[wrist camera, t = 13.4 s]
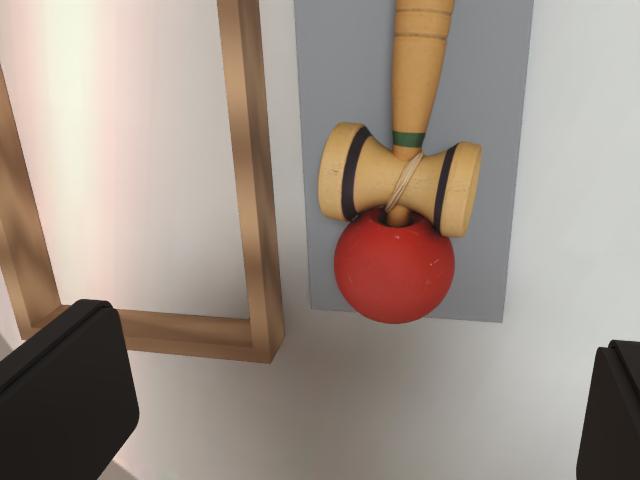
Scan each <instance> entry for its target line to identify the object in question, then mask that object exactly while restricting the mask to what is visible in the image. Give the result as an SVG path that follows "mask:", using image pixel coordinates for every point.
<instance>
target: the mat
mask: <svg viewBox="0 0 640 480" xmlns="http://www.w3.org/2000/svg"><path fill="white" fill-rule="evenodd" d="M533 3H534V0H455V4H454V9H453V13H452V15H451V25H450V30H449V35H448V37H447V38H446V41H447V46H446V51H445V56H444V61H443V66H442V71H441V75H440V80H439V85H438V89H437V93H436V97H435V101H434V104H433V109H432V112H431V116H430V119H429V123H428V127H427V130H426V134H425V138H424V140H423V144H422V151H423V153H424V154H426V156H430V155H435V154H438V153H441V152H443V151H445V150H447V149H449V148H451V147H453V146H454V145H456V144H457V143H459V142H462V141H466V142H470V143H475V144H479V145H481V147H482V159H481V166H480V173H479V176H478V177H479V178H478V185H477V190H476V195H475V200H474V205H473V209H472V214H471V217H470V221H469V225H468V228H467V232H466V234H465V235H464V236H463V237H462V238H455V237H449V239H450V241H451V243H452V246H453V251H454V257H455V271H454V277H453V281H452V283H451V286H450V289H449V290H448V293H447V294H446V296H445V298H444V299H443V300H442V302H441V303H440V304H439V306H437V307H436V308H435V309H434V310H432V312H430V313H429V314H427V315H425V316H424V317H429V318H443V319H456V320H470V321H483V322H497V323H502V320H503V310H504V300H505V290H506V279H507V269H508V259H509V249H510V239H511V228H512V218H513V208H514V198H515V187H516V177H517V167H518V157H519V146H520V136H521V126H522V116H523V105H524V95H525V85H526V75H527V64H528V54H529V44H530V34H531V24H532V13H533ZM395 5H396V0H294V8H295V26H296V44H297V62H298V80H299V99H300V117H301V135H302V153H303V171H304V190H305V208H306V226H307V244H308V262H309V280H310V299H311V309H321V310H334V311H348V312H357V311H356V310H355V309H354V308H353V307H352V306H351V305H350V304H349V303H348V302H347V301H346V300H345V298H344V297H343V295H342V293H341V292H340V290H339V287H338V285H337V282H336V279H335V273H334V253H335V249H336V245H337V242H338V240H339V238H340V236H341V234H342V232H343V231H344V229H345V228H346V227H347V225H348V224H349V223H350V222H349V221H347V222H345V221H340V220H336V219H331V218H327V217H325V216H324V215H323V213H322V211H321V209H320V205H319V201H318V176H319V168H320V163H321V158H322V154H323V150H324V147H325V144H326V141H327V139H328V137H329V135H330V133H331V131H332V130H333V128H334V127H335V126H336V125H337V124H338V123H340V122H349V123H361V124H364V125H366V126H367V128H368V130H369V131H370V133H371V134H372V135H373V136H374V137H375V138H376V140H378V141H379V142H380V143H381V144H382V145H384V146H385V147H387V148H388V149H390V150H392V151H393V135H392V57H393V41H394V37H395V36H396V35H395V34H394V23H395V14H396V10H395Z"/></svg>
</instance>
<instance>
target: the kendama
mask: <svg viewBox="0 0 640 480" xmlns="http://www.w3.org/2000/svg"><path fill="white" fill-rule="evenodd" d="M454 4H455V0H396V5H395V10H396V14H395V23H394V34H395V35H396V36H395V37H394V41H393V57H392V135H393V151H392V150H390V149H388V148H387V147H385V146H384V145H382V144H381V143H380V142H379V141H378V140H376V138H375V137H374V136H373V135H372V134H371V133H370V131H369V130H368V128H367V126H366V125H364V124H361V123H349V122H340V123H338V124H337V125H336V126H335V127H334V128H333V130H332V131H331V133H330V135H329V137H328V139H327V141H326V144H325V147H324V150H323V154H322V158H321V163H320V168H319V176H318V201H319V205H320V209H321V211H322V213H323V215H324V216H325V217H327V218H331V219H336V220H340V221H345V222H347V221H349V222H350V223H349V224H348V225H347V227H346V228H345V229H344V231H343V232H342V234H341V236H340V238H339V240H338V242H337V245H336V249H335V253H334V273H335V279H336V282H337V285H338V287H339V290H340V292H341V293H342V295H343V297H344V298H345V300H346V301H347V302H348V303H349V304H350V305H351V306H352V307H353V308H354V309H355V310H356V311H357V312H359V313H360V314H362V315H363V316H365V317H367V318H369V319H372V320H374V321H378V322H382V323H388V324H400V323H407V322H411V321H415V320H417V319H420V318H422V317H424V316H425V315H427V314H429V313H430V312H432V310H434V309H435V308H436V307H437V306H439V304H440V303H441V302H442V300H443V299H444V298H445V296H446V294H447V293H448V290H449V289H450V286H451V283H452V281H453V277H454V271H455V257H454V251H453V246H452V243H451V241H450V239H449V237H455V238H462V237H463V236H464V235H465V234H466V232H467V228H468V225H469V221H470V217H471V214H472V209H473V205H474V200H475V195H476V190H477V185H478V178H479V177H478V176H479V173H480V166H481V159H482V147H481V145H479V144H475V143H470V142H466V141H462V142H459V143H457V144H456V145H454V146H453V147H451V148H449V149H447V150H445V151H443V152H441V153H438V154H435V155H430V156H426V154H424V153H423V151H422V144H423V140H424V138H425V134H426V130H427V127H428V123H429V119H430V116H431V112H432V109H433V104H434V101H435V97H436V93H437V89H438V85H439V80H440V75H441V71H442V66H443V61H444V56H445V51H446V46H447V41H446V38H447V37H448V35H449V30H450V25H451V15H452V13H453V9H454Z"/></svg>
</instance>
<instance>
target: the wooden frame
mask: <svg viewBox="0 0 640 480" xmlns="http://www.w3.org/2000/svg"><path fill="white" fill-rule="evenodd" d="M217 7H218V17H219V26H220V36H221V46H222V55H223V65H224V74H225V84H226V94H227V103H228V113H229V122H230V132H231V141H232V151H233V161H234V170H235V180H236V189H237V199H238V209H239V218H240V228H241V237H242V247H243V257H244V266H245V276H246V285H247V295H248V305H249V314H250V320H245V319H232V318H220V317H207V316H195V315H182V314H170V313H157V312H145V311H132V310H120V309H116V310H117V311H118V312H119V315H120V320H121V325H122V329H123V334H124V339H125V344H126V349H127V350H134V351H144V352H155V353H165V354H175V355H186V356H196V357H206V358H216V359H227V360H237V361H247V362H258V363H268V364H271V362H272V360H273V358H274V356H275V354H276V352H277V350H278V348H279V346H280V344H281V342H282V340H283V338H284V336H285V335H284V323H283V310H282V297H281V284H280V271H279V258H278V245H277V233H276V220H275V207H274V194H273V181H272V168H271V155H270V143H269V130H268V117H267V104H266V91H265V78H264V65H263V52H262V40H261V27H260V14H259V1H258V0H217ZM0 267H1V270H2V274H3V277H4V280H5V284H6V287H7V291H8V294H9V298H10V301H11V304H12V308H13V311H14V315H15V318H16V322H17V325H18V328H19V332H20V335H21V339H22V340H28V339H29V338H31V337H32V336H33V335H35V334H36V333H37V332H38V331H40V330H41V329H42V328H43V327H45V326H46V325H47V324H49V323H50V322H51V321H52V320H54V319H55V318H56V317H57V316H59V315H60V314H61V313H62V312H64V311H65V310H66V309H68V308H69V307H70V305H61V303H60V300H59V296H58V292H57V288H56V284H55V280H54V276H53V272H52V268H51V264H50V260H49V256H48V252H47V248H46V244H45V240H44V236H43V232H42V228H41V224H40V220H39V216H38V212H37V208H36V205H35V201H34V197H33V193H32V189H31V185H30V181H29V177H28V173H27V169H26V165H25V161H24V157H23V153H22V149H21V145H20V141H19V137H18V133H17V129H16V125H15V121H14V117H13V113H12V110H11V106H10V102H9V98H8V94H7V90H6V86H5V82H4V78H3V74H2V70H1V66H0Z"/></svg>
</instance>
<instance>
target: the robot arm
mask: <svg viewBox="0 0 640 480" xmlns="http://www.w3.org/2000/svg"><path fill="white" fill-rule="evenodd" d="M138 420H139V406H138V402H137V397H136V392H135V387H134V382H133V377H132V373H131V368H130V363H129V358H128V353H127V349H126V344H125V339H124V334H123V329H122V325H121V320H120V315H119V312H118V311H117V310H116V309H115V308H113V306H112V305H111V304H110V302H108V301H102V300H89V299H80V300H78V301H76V302H75V303H74V304H73V305H71V306H70V307H69V308H68V309H66V310H65V311H64V312H62V313H61V314H60V315H59V316H57V317H56V318H55V319H54V320H52V321H51V322H50V323H49V324H47V325H46V326H45V327H43V328H42V329H41V330H40V331H38V332H37V333H36V334H35V335H33V336H32V337H31V338H29V339H28V340H27V341H26V342H24V343H23V344H22V345H21V346H19V347H18V348H17V349H16V350H14V351H13V352H12V353H11V354H9V355H8V356H7V357H6V358H4V359H3V360H2V361H0V480H97V479H98V477H99V476H100V475H101V474H102V472H103V471H104V470H105V468H106V467H107V466H108V464H109V463H110V461H111V460H112V459H113V458H114V456H115V455H116V454H117V452H118V451H119V450H120V448H121V447H122V446H123V444H124V443H125V442H126V440H127V439H128V438H129V436H130V435H131V434H132V432H133V431H134V430H135V428H136V426H137V424H138ZM576 478H577V480H640V342H635V341H622V340H612V341H610V343H609V345H608V348H605V347H599V348H598V349H597V352H596V356H595V362H594V368H593V374H592V379H591V385H590V391H589V397H588V402H587V408H586V414H585V420H584V425H583V431H582V437H581V443H580V449H579V454H578V460H577V467H576Z"/></svg>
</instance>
